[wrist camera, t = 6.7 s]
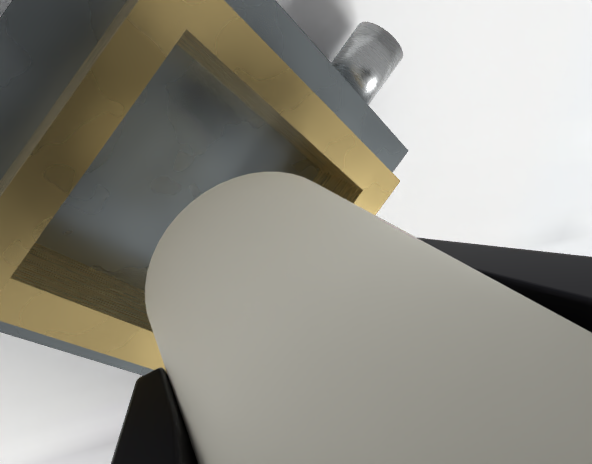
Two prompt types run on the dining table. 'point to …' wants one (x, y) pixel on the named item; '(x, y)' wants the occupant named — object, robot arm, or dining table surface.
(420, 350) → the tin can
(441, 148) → the dining table surface
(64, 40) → the gearbox
